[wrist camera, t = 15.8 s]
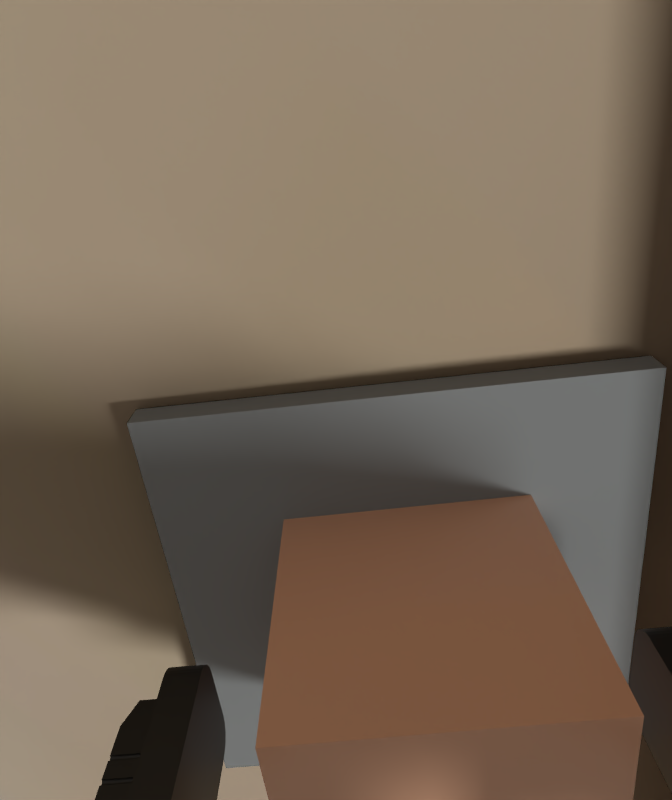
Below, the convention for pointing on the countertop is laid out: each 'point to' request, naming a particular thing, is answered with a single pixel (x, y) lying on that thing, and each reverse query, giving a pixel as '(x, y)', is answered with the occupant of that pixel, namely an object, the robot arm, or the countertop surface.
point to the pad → (395, 489)
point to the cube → (439, 663)
